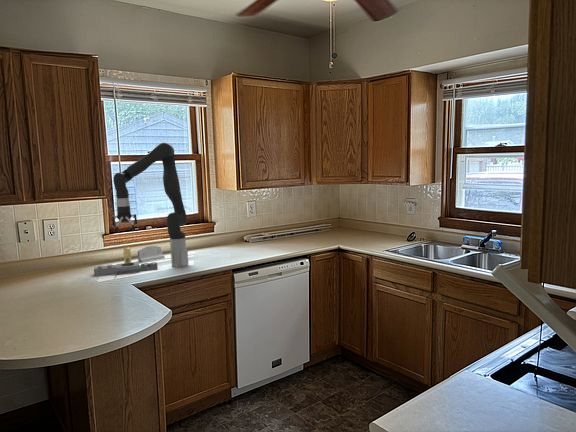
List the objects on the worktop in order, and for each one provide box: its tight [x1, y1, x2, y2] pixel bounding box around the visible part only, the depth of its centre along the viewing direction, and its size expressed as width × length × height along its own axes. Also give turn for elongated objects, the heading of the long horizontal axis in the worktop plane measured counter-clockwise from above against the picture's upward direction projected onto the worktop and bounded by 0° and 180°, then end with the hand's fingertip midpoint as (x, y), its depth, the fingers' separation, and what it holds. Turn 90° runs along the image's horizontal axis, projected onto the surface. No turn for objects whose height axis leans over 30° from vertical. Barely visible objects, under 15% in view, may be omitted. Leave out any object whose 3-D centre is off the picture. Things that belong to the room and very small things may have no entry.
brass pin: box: [122, 246, 132, 263], centre depth 268 cm, size 4×4×12 cm
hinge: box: [137, 245, 166, 263], centre depth 288 cm, size 17×5×10 cm, turn 133°
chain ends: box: [93, 261, 158, 277], centre depth 258 cm, size 35×11×5 cm, turn 110°
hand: (125, 231), depth 266 cm, fingers open, 8 cm apart
